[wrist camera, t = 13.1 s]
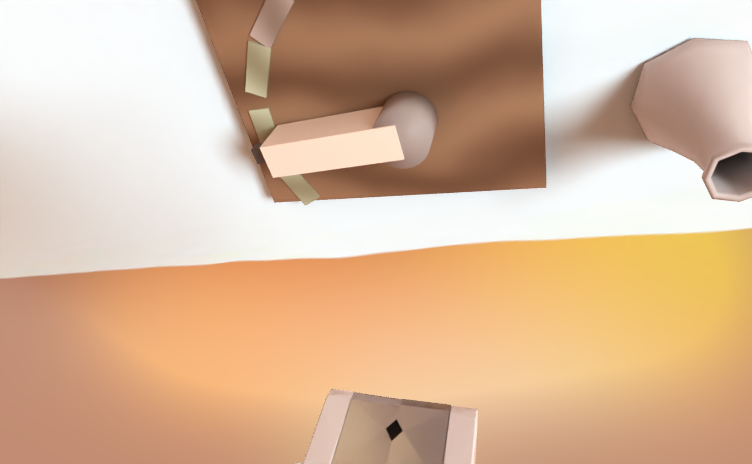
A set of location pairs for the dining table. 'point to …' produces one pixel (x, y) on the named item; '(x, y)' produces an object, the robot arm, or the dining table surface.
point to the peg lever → (353, 138)
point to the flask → (702, 110)
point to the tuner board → (392, 85)
